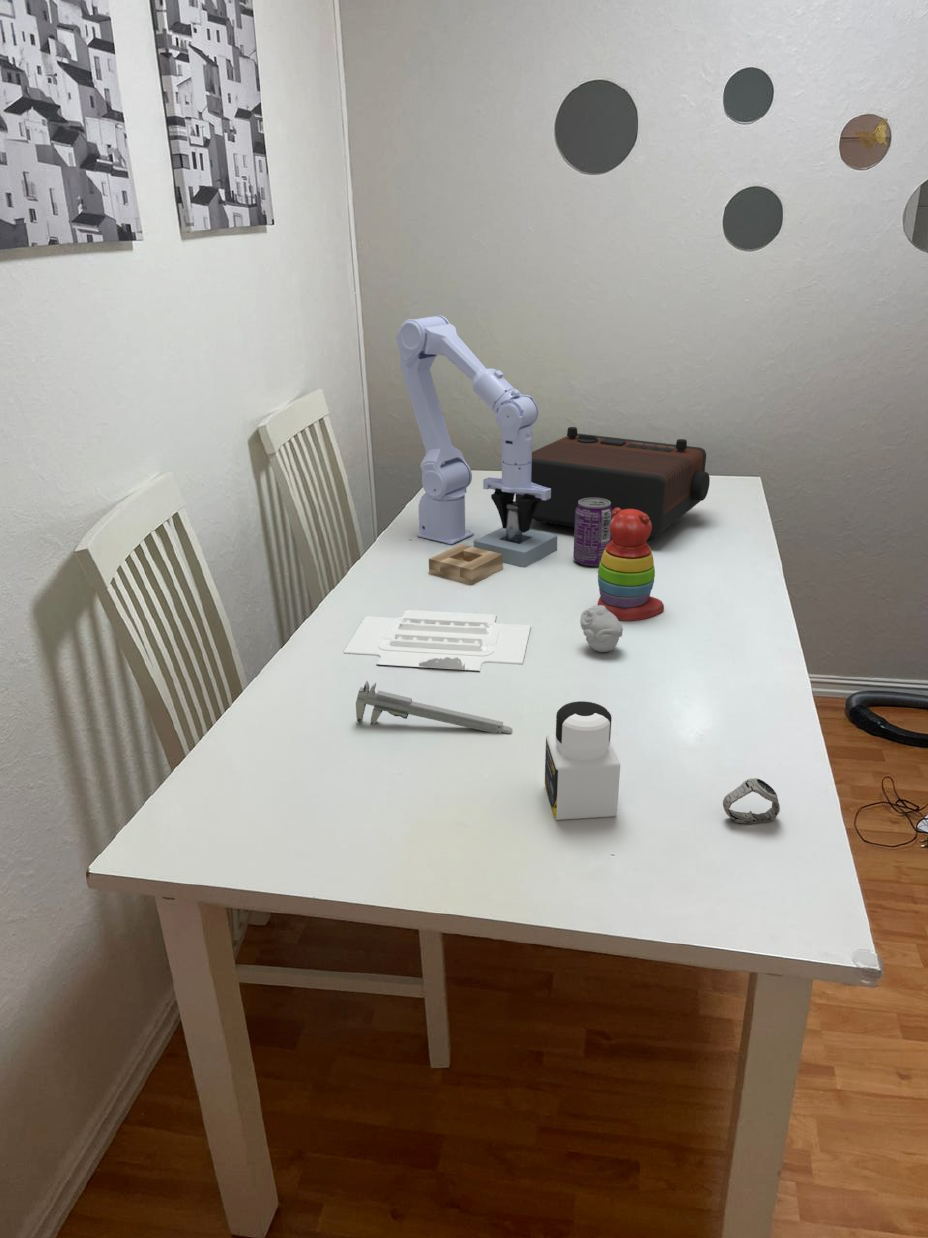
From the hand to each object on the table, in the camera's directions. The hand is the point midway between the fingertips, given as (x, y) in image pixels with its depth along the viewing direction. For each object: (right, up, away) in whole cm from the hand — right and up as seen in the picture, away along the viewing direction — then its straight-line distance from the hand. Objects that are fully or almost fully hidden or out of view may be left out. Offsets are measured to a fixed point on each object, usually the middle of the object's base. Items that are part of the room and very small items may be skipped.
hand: (516, 529), depth 177 cm
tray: (-14, -22, -34) cm, 43 cm away
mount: (-10, -9, -7) cm, 15 cm away
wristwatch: (+21, -40, -77) cm, 90 cm away
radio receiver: (+22, +3, +19) cm, 29 cm away
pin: (0, -3, 0) cm, 3 cm away
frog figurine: (+11, -23, -38) cm, 46 cm away
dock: (0, -4, +2) cm, 5 cm away
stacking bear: (+17, -16, -24) cm, 34 cm away
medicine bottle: (+3, -39, -74) cm, 83 cm away
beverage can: (+14, -7, -3) cm, 16 cm away
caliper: (-14, -33, -58) cm, 68 cm away
